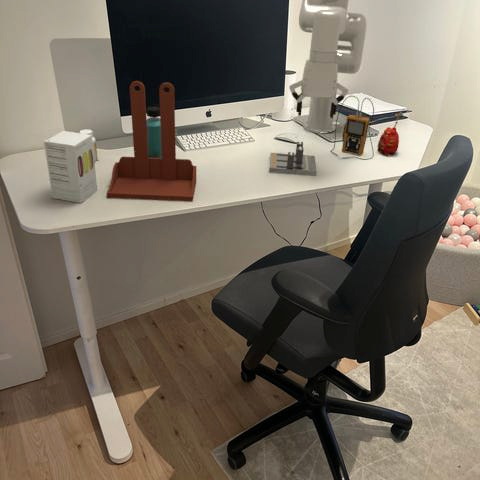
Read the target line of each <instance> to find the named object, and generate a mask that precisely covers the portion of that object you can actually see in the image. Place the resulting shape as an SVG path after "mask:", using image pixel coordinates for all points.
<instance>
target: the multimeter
mask: <svg viewBox="0 0 480 480" xmlns="http://www.w3.org/2000/svg"><path fill="white" fill-rule="evenodd" d="M351 97H353V98H355V99H356V100H357V102H360V100H359V98H358V97H357V96H355V95H348V96H347V97H346V98H344V99H343V102H342V103H341V105H340V108H339V110H338V112H337V116H336V120H335V126H337V123H338V118H339V114H340V111H341V110H342V107H343V105H344V103H345V101H346V100H347V99H349V98H351ZM366 99H367V100H368V101H369V102H370V104H371V106H372V116H371V119H370V118H369V117H364V116H362V109H363V104H364V102H365V100H366ZM360 106H361V107H360ZM374 107H375V106H374V104H373V101H372V99H370V98H369V97H364V99H363V100H362V102H361V105H360V104H358V106H357V110H356V114H355V115H354V114H348V116H347V117H346V120H345V124H344V127H343V132H342V147H341V152H342V153H344V154H345V153H346V154H351V155H352V158H356V159H359V160H363V161H364V160H365V161H366V160H367V161H368V160H371V159H373V158H374V152H372V157H370V158H361V157H360V156H362V155H364V151H365V147H366V141H367V135H369V139H370V140H369V141H370V143H371V150H372V151H374V148H373V143H372V137H371V134H370V132H369V130H371V125H372V122H373V121H372V120H373V117H374V114H375V108H374ZM359 109H360V112H359ZM370 120H371V121H370ZM336 134H337V127H336V128H335V131H334V140H336V139H337V138H336V136H337V135H336ZM333 142H334V145H333V148H332V149H331V150H330V153H332V154H333V155H334V156H336V157H339V158H337V159H338V160H340V159H341V160H345V159H350V158H351V156H343V157H340V155H338V154H337V153H335V152H333V151H334V150H335V146H336V141H333ZM353 155H355V156H353Z"/></svg>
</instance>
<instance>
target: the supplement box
mask: <svg viewBox="0 0 480 480" xmlns="http://www.w3.org/2000/svg"><path fill="white" fill-rule="evenodd" d="M92 137H93V136H92V135H88V134H81V133H79V132H73V131H67V130H62V131H60V132H58V133H57V134H55V135H53V136H52V137H50V138H47V139H46V140H44V141H43V146H44V150H45V151H44V152H45V157H46V164H47V169H48V177H49V183H50V184H49V185H50V189H51V195H52V198H53V199H56V200H62V201H68V202H74V203H79V204H82V203H83V202H85V201H86V200H87V199H88V198H90V197H91V196H92V195H93V194H95V193H96V192H97V191H98V182H97V174H96V164H95V163H96V162H94V153H93V143H92Z"/></svg>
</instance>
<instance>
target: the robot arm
mask: <svg viewBox="0 0 480 480" xmlns="http://www.w3.org/2000/svg"><path fill="white" fill-rule="evenodd" d="M348 5H349V0H302V2H301V7H300V10H299V15H298V25H299V28H300V31H303V32H304V33H309V34H311V40H310V50H309V57H308V59H306V60H305V64H304V68H303V72H302V73H303V74H302V78H301V80H299V81H297V82H294V83H292V84H290V85H289V91H290V93H291V95H292V97H293V99H295V101H296V111H295V112H296V113H298V114H297V115H298V117H301V115H302V110H303V109H302V108H303V100H304V99H305V98H306V97H307V98H310V99H309V100H310V102H309V108H308V109H309V111H308V117H307V118H308V120H307V121H305V122H304V123H303V125H302V126H303V130H305V131H307V132H309V133H314V134H319V133H320V132H330V131H333V130H335V128H336V129H337V125H336V124H333V122H334V115H336V113H337V108H338V107H337V106H338V105H339V103H341V102H342V101H344V100H345V97H346V96H347V95H348V93H349V89H348V88H347V87H345V86H343V85H342V84H340V83H338V73H339V74H348V75H349V74H350V75H351V74H357V73H358V72H359V70H360V67H361V64H362V60H363V52H364V47H365V46H364V45H365V39H366V34H367V33H366V32H367V31H366V30H367V18H366V17H365V15H364V14H362V13H357V12H348V7H349V6H348ZM339 42H347V43H350V45H345V44H344V45H343V44H339ZM297 88H300V91H301V92H300V93H299V94H298V93H297V92H296V89H297ZM338 90H339V91H340V92H341V93H340V94H339V95H338V96H337V94H338V93H337V92H338Z"/></svg>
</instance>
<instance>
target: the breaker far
mask: <svg viewBox="0 0 480 480" xmlns="http://www.w3.org/2000/svg"><path fill="white" fill-rule="evenodd" d="M295 147H296V149H295V154H297V147H303V148H304V141H301V140H298V141H296V146H295Z"/></svg>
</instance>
